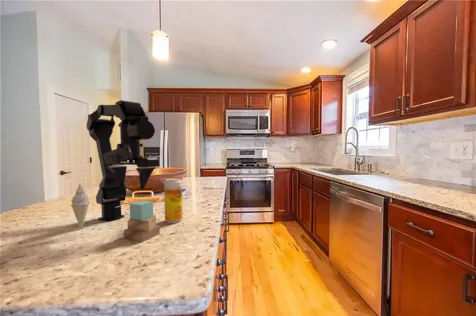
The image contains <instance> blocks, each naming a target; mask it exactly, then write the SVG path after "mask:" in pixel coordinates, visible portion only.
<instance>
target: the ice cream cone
mask: <svg viewBox="0 0 476 316" xmlns="http://www.w3.org/2000/svg"><path fill="white" fill-rule="evenodd" d="M71 203H72V204H70V206H71V207H72V210H73V213H74V216H75V219H76V221H77V224H78V226H79V229H81V230H82V229H83V227H84V223H85V220H86V216H87V213H88V209H89V206H90V196H89V195H88V194H86V190H85V189H84V187H83V186H82V183H79V184H78V187H77V189H76V190H75V195H73V196H72V198H71Z"/></svg>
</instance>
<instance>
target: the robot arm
mask: <svg viewBox="0 0 476 316" xmlns="http://www.w3.org/2000/svg"><path fill="white" fill-rule="evenodd" d="M101 117H110V120H109V119H107V118H101ZM114 117H115V118H118V119H119V120H120V122H119V123H118V127H119V130H120V131H119V132H120V135H119V137H120V143H117V145H116V149H112V144H111V136H112V134H113V133H114V132H113V131H114V130H113V129H114V128H115V125H116V121H115V118H114ZM86 129H87V131H88V133H89V136H90V137H91V139H92V140H93V141H95V144H96V149H97V150H96V151H97V155H98V160H99V164H100V170H101V175H102V176H101V177H102V178H101V180H100V182H99V183H98V184H99V185H98V187H99V188H98V191H97V194H96V196H95V201H96V204H98V205H101V206H100V207H101V216H100V217H97V219H98V220H99V221H106V222H111V221H115V220H118V219H121V218H124V217H125V215H124V214H122V203H121V202H125V201H126V197H127V187H126V184H125V180H126V176H127V175H126V174H127V169H128V166H129V165H131V166H136V167H137V168H135V170H136V171H137V173H138V177H139V187H140V190H145V187H146V185H147V183H148V181H149V179H150V177H151V175H152V173H153V171H154V170H156V169H157V167H160V160H159V159H158V157H150V156H148V157H144V156H143V155H141V148H143V146H144V144H143V143H141V141H142V140H144V141H145V140H150V139H152V138H153V137H154V135H155V132H156V129H155V126H154V124H153V123H152V122H151V121H149V117H148V116H147V115H146V113H145V110H144V108H143V106H142V104H141V103H140V102H135V101H129V100H121V99H120V100H118V101H116V102H115V103H114V104H98V106H97V109H96V110H95V111H93V112H92V113H91V114H90V113H89V115H88V118H87V121H86ZM127 165H128V166H127Z"/></svg>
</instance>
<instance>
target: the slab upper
mask: <svg viewBox="0 0 476 316" xmlns="http://www.w3.org/2000/svg"><path fill="white" fill-rule="evenodd" d="M156 218H157V215H156V214H153V217H151V218H148V219H145V220H143V221H140V220H133V219H130V218H129V219H128V220H127V229H128V231H150V230H151V229H152V228H153V227H154V226H155V225H157V219H156Z"/></svg>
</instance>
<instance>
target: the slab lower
mask: <svg viewBox="0 0 476 316" xmlns="http://www.w3.org/2000/svg"><path fill="white" fill-rule="evenodd" d="M160 230H161V227H160V225H158V224H156V225H155V226H154V227H153V228H152V229H151V230H150V231H128V228H126V229H123V239H124V240H127V241H134V242H139V243H144V242H147V241H148V240H150V239H152V238H154V237H156V236H158V235H160V234H161V231H160Z"/></svg>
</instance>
